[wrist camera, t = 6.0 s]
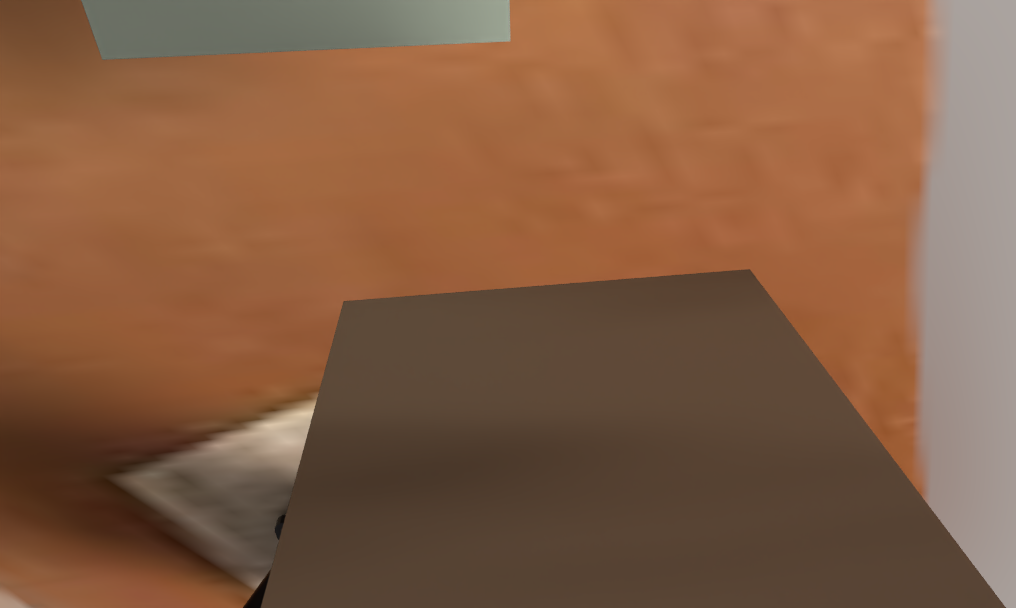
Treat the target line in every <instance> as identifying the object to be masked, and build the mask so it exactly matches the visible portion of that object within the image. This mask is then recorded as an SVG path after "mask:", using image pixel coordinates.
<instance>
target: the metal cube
mask: <svg viewBox="0 0 1016 608" xmlns="http://www.w3.org/2000/svg"><path fill="white" fill-rule="evenodd" d="M261 608H1006V607H1005V606H1004V605H1003V603H1002V602H1001V601H1000V600H999V598H998V597H997V595H996V594H995V593H994V591H993V590H992V589H991V588H990V586H989V585H988V584H987V582H986V581H985V580H984V578H983V577H982V576H981V574H980V573H979V572H978V570H977V569H976V568H975V566H974V565H973V564H972V562H971V561H970V560H969V558H968V557H967V556H966V554H965V553H964V552H963V551H962V549H961V548H960V547H959V545H958V544H957V543H956V541H955V540H954V539H953V537H952V536H951V535H950V533H949V532H948V531H947V529H946V528H945V527H944V525H943V524H942V523H941V522H940V520H939V519H938V517H937V516H936V515H935V514H934V512H933V511H932V510H931V508H930V507H929V506H928V504H927V503H926V502H925V500H924V499H923V498H922V496H921V495H920V494H919V492H918V491H917V490H916V488H915V487H914V486H913V484H912V483H911V482H910V480H909V479H908V478H907V476H906V475H905V474H904V473H903V471H902V470H901V469H900V467H899V466H898V465H897V463H896V462H895V461H894V459H893V458H892V457H891V455H890V454H889V453H888V451H887V450H886V449H885V447H884V446H883V445H882V443H881V442H880V441H879V439H878V438H877V437H876V436H875V434H874V433H873V432H872V430H871V429H870V428H869V426H868V425H867V424H866V422H865V421H864V420H863V418H862V417H861V416H860V414H859V413H858V412H857V410H856V409H855V408H854V406H853V405H852V404H851V402H850V401H849V400H848V399H847V397H846V396H845V395H844V393H843V392H842V391H841V389H840V388H839V387H838V385H837V384H836V383H835V381H834V380H833V379H832V377H831V376H830V375H829V373H828V372H827V371H826V369H825V368H824V367H823V365H822V364H821V363H820V362H819V360H818V359H817V358H816V356H815V355H814V354H813V352H812V351H811V350H810V348H809V347H808V346H807V344H806V343H805V342H804V340H803V339H802V338H801V336H800V335H799V334H798V332H797V331H796V330H795V328H794V327H793V326H792V325H791V323H790V322H789V321H788V319H787V318H786V317H785V315H784V314H783V313H782V311H781V310H780V309H779V307H778V306H777V305H776V303H775V302H774V301H773V299H772V298H771V297H770V295H769V294H768V293H767V291H766V290H765V289H764V288H763V286H762V285H761V284H760V282H759V281H758V280H757V278H756V277H755V276H754V274H753V273H752V272H751V270H750V269H748V270H735V271H723V272H710V273H697V274H685V275H672V276H659V277H646V278H634V279H621V280H608V281H596V282H583V283H570V284H558V285H545V286H532V287H520V288H507V289H494V290H481V291H469V292H456V293H443V294H431V295H418V296H405V297H393V298H380V299H367V300H355V301H344V302H343V306H342V309H341V313H340V317H339V320H338V324H337V328H336V332H335V335H334V339H333V343H332V346H331V350H330V354H329V357H328V361H327V365H326V368H325V372H324V376H323V380H322V383H321V387H320V391H319V394H318V398H317V402H316V405H315V409H314V413H313V417H312V420H311V424H310V428H309V431H308V435H307V439H306V442H305V446H304V450H303V454H302V457H301V461H300V465H299V468H298V472H297V476H296V479H295V483H294V487H293V491H292V494H291V498H290V502H289V505H288V509H287V513H286V516H285V520H284V524H283V528H282V531H281V535H280V539H279V542H278V546H277V550H276V553H275V557H274V561H273V565H272V568H271V572H270V576H269V579H268V583H267V587H266V590H265V594H264V598H263V601H262V605H261Z"/></svg>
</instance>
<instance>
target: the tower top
mask: <svg viewBox="0 0 1016 608" xmlns="http://www.w3.org/2000/svg"><path fill="white" fill-rule="evenodd" d="M81 1H82V4H83V6H84V9H85V12H86V15H87V18H88V21H89V23H90V26H91V29H92V32H93V35H94V37H95V40H96V43H97V46H98V49H99V51H100V54H101V57H102V60H107V59H129V58H151V57H173V56H195V55H217V54H240V53H262V52H284V51H306V50H328V49H350V48H372V47H394V46H416V45H438V44H460V43H482V42H505V41H510V7H509V0H81Z"/></svg>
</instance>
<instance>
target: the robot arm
mask: <svg viewBox="0 0 1016 608" xmlns="http://www.w3.org/2000/svg"><path fill="white" fill-rule="evenodd" d="M285 516H286V515H282V516H281V517H279V518H278V520H277V523H276V526H275V533H276V535H277V538H278V540H279V539H280V535H281V531H282V528H283V524H284V520H285ZM270 572H271V570H270V571H269V572H268V574H267V575H266V577H265V578H264V579H263V581H262V582H261V583H260V585H259V586H258V588H257V589H256V590H255V592H254V593H253V594H252V596H251V597H250V599H249V600H248V601H247V603H246V604H245V605H244V607H243V608H261V605H262V601H263V598H264V594H265V590H266V587H267V583H268V579H269V576H270Z"/></svg>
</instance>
